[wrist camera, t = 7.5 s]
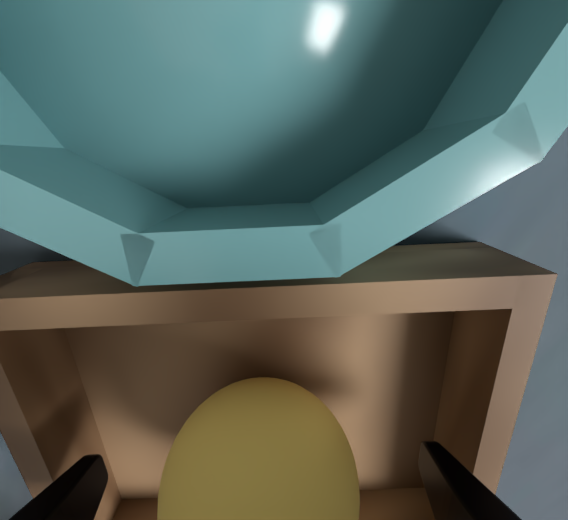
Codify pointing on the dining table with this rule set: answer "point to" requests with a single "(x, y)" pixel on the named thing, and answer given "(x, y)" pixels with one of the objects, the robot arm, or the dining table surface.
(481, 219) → the dining table surface
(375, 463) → the tray
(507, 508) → the robot arm
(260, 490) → the ball
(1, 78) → the bowl
